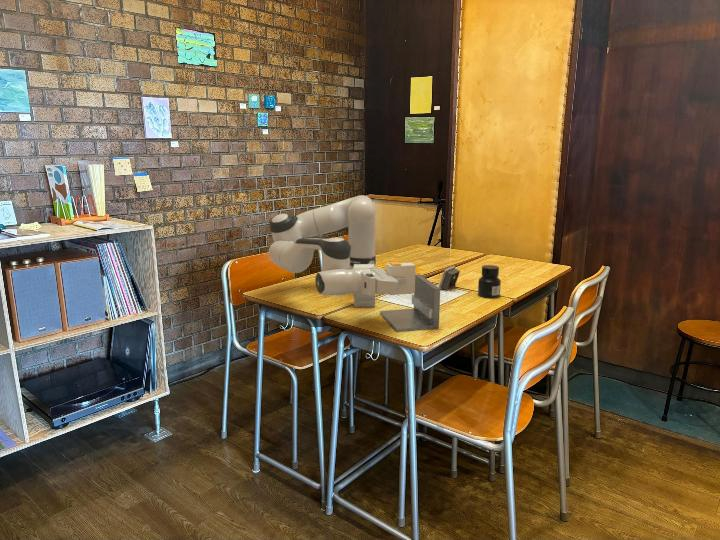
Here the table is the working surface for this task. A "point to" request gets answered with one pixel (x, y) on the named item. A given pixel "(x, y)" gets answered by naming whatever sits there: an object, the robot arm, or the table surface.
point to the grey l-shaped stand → (417, 309)
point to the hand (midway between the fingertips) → (403, 278)
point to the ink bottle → (489, 282)
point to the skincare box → (364, 299)
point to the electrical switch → (449, 278)
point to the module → (402, 276)
